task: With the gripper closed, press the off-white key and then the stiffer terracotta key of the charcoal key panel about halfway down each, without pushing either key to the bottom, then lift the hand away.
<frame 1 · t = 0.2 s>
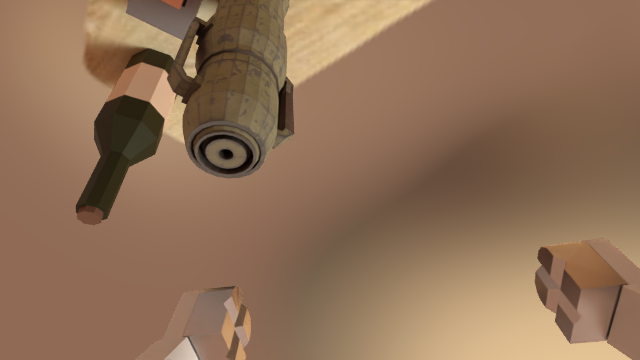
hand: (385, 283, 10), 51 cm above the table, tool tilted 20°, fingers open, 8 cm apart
wine bottle: (157, 71, 62), on the table
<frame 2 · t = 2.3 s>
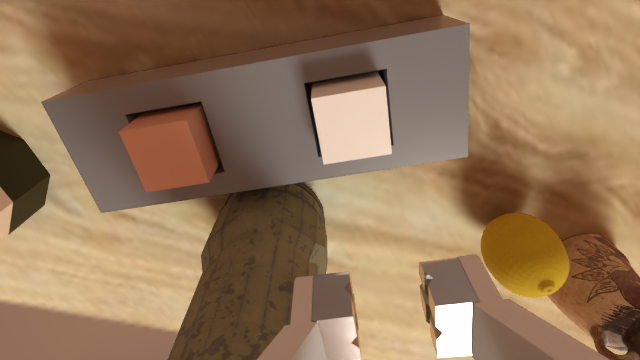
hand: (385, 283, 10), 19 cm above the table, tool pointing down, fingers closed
clay key: (175, 146, 24), point 5 cm above the table, slide at 0.0 cm
thermos: (274, 218, 33), on the table
figurine: (573, 263, 35), on the table
pale key: (350, 116, 23), point 5 cm above the table, slide at 0.0 cm
key panel: (271, 105, 28), on the table
lemon: (499, 221, 33), on the table
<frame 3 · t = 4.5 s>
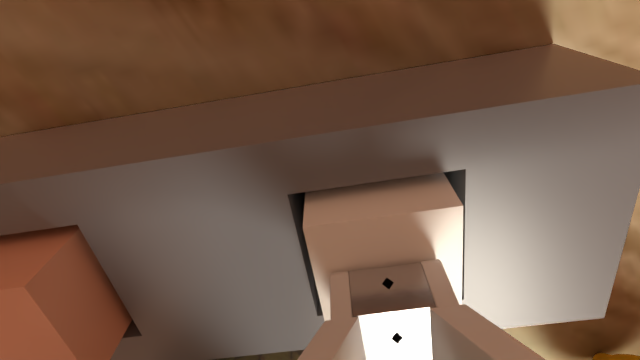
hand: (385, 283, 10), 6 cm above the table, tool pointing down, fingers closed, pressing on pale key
clay key: (38, 300, 12), point 5 cm above the table, slide at 0.0 cm
thermos: (250, 344, 21), on the table
pale key: (379, 237, 12), point 4 cm above the table, slide at 0.9 cm, touching gripper
key panel: (237, 191, 16), on the table
lemon: (596, 351, 21), on the table
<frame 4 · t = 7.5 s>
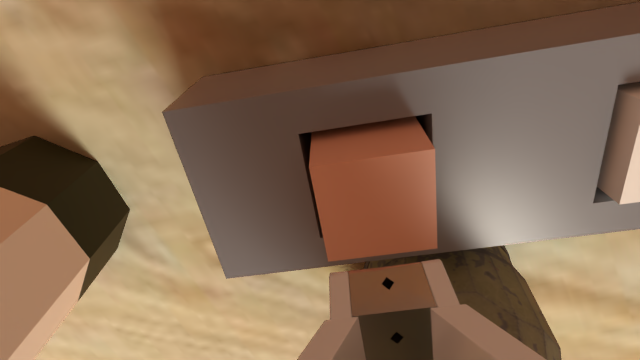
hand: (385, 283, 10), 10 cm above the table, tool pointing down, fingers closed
clay key: (371, 184, 14), point 5 cm above the table, slide at 0.0 cm
thermos: (434, 272, 23), on the table
wine bottle: (57, 202, 22), on the table
key panel: (472, 116, 19), on the table
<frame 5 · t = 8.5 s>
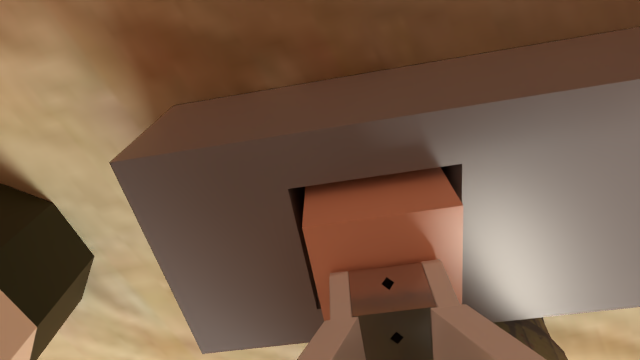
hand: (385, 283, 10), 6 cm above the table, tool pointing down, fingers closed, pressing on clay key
clay key: (379, 237, 12), point 5 cm above the table, slide at 0.6 cm, touching gripper
thermos: (450, 326, 20), on the table
wine bottle: (8, 247, 18), on the table
key panel: (499, 150, 15), on the table
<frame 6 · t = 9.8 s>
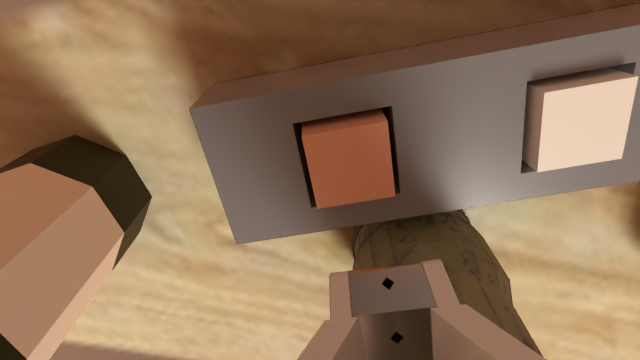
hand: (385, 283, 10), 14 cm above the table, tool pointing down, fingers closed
clay key: (347, 153, 20), point 4 cm above the table, slide at 1.1 cm
thermos: (410, 243, 28), on the table
wine bottle: (90, 191, 26), on the table
pale key: (562, 115, 19), point 4 cm above the table, slide at 1.2 cm
key panel: (431, 111, 23), on the table
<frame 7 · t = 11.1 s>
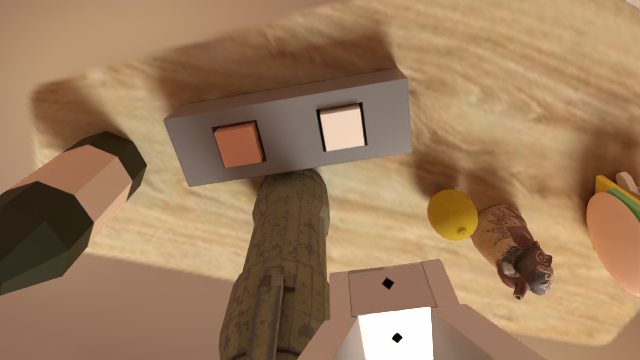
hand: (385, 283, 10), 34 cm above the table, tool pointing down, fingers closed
clay key: (241, 141, 41), point 4 cm above the table, slide at 1.1 cm
thermos: (294, 194, 49), on the table
figurine: (494, 226, 52), on the table
wine bottle: (113, 162, 47), on the table
pale key: (341, 124, 40), point 4 cm above the table, slide at 1.2 cm
hamburger: (608, 209, 51), on the table
key panel: (293, 120, 44), on the table
lemon: (441, 196, 49), on the table
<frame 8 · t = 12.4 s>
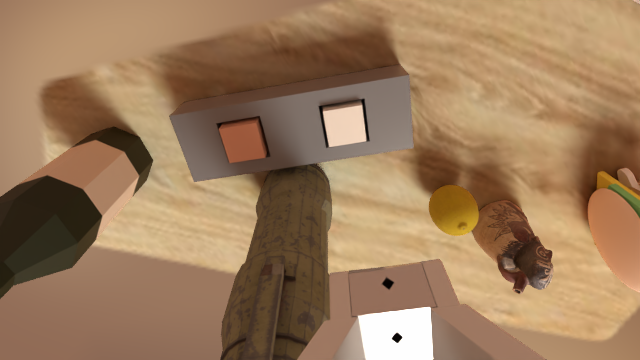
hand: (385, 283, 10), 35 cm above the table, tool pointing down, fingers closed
clay key: (245, 137, 42), point 4 cm above the table, slide at 1.1 cm
thermos: (297, 189, 50), on the table
figurine: (495, 221, 52), on the table
wine bottle: (120, 157, 48), on the table
pale key: (344, 120, 41), point 4 cm above the table, slide at 1.2 cm
hamburger: (610, 205, 51), on the table
key panel: (296, 116, 45), on the table
lemon: (443, 191, 50), on the table
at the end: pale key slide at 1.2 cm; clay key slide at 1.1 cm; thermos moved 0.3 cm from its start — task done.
